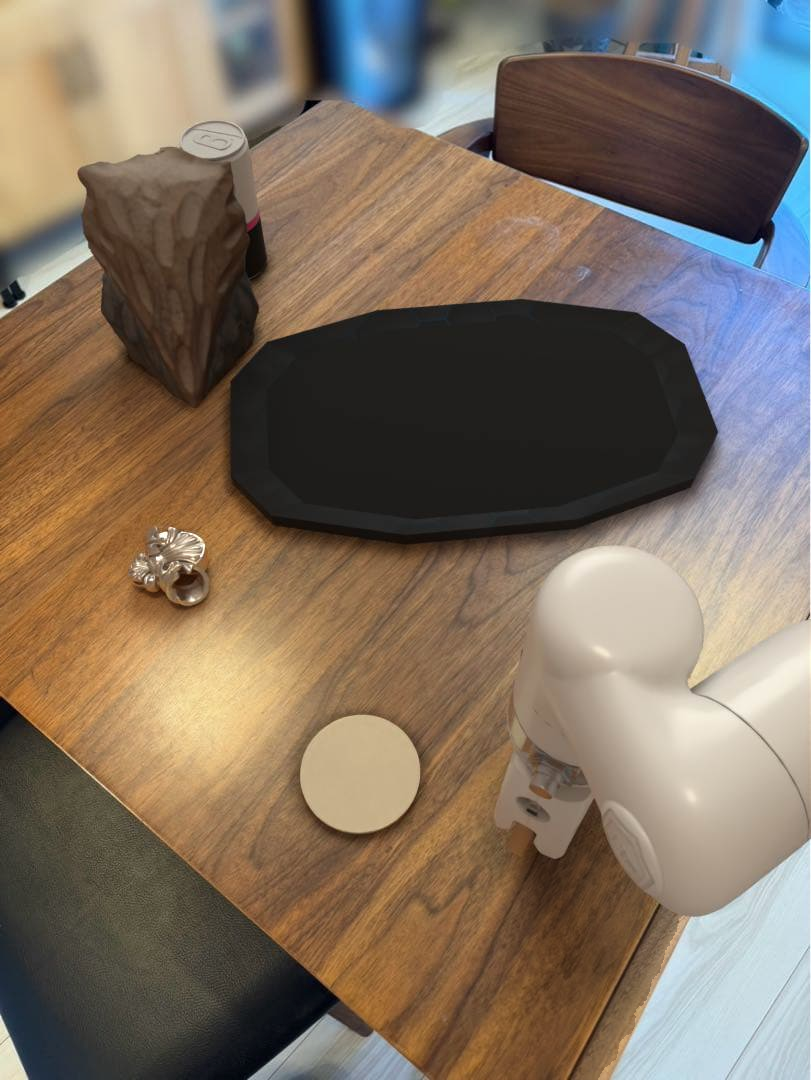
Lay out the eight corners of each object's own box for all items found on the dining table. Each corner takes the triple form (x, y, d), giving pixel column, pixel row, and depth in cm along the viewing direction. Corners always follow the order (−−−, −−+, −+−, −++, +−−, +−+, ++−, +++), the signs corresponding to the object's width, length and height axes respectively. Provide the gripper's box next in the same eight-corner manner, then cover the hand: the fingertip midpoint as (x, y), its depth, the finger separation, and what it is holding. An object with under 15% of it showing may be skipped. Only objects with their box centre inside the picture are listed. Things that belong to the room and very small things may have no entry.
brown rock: (110, 348, 91) (42, 174, 74) (205, 285, 96) (161, 109, 79) (191, 412, 86) (138, 242, 69) (286, 342, 91) (258, 168, 74)
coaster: (441, 751, 68) (441, 749, 68) (381, 857, 64) (381, 856, 63) (341, 696, 70) (340, 694, 70) (277, 795, 66) (276, 794, 66)
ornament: (119, 554, 78) (107, 531, 74) (194, 524, 79) (185, 500, 76) (149, 627, 74) (138, 606, 71) (227, 593, 75) (219, 571, 72)
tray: (660, 298, 94) (663, 287, 93) (740, 513, 80) (745, 503, 78) (232, 332, 92) (230, 321, 91) (233, 560, 77) (230, 550, 76)
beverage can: (248, 291, 95) (223, 166, 83) (196, 274, 97) (164, 148, 84) (278, 254, 99) (259, 128, 86) (227, 238, 100) (201, 111, 87)
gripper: (589, 872, 44) (541, 933, 60) (690, 633, 51) (624, 743, 67) (453, 799, 46) (441, 876, 61) (569, 578, 53) (532, 697, 68)
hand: (536, 806), depth 64 cm, fingers closed
